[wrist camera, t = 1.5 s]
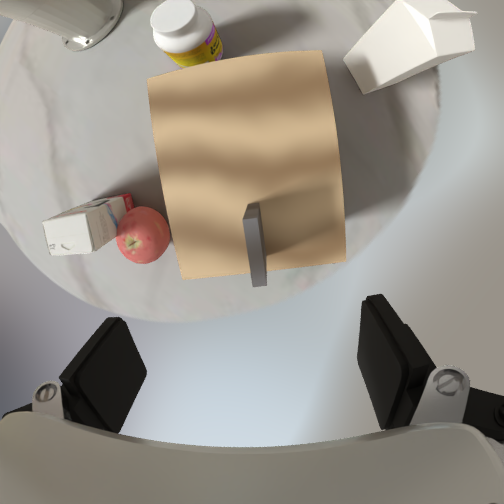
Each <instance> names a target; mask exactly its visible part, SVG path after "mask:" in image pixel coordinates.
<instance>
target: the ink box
mask: <svg viewBox="0 0 504 504" xmlns="http://www.w3.org/2000/svg"><path fill="white" fill-rule="evenodd" d="M133 208H134V205H133V201H132V197H131V194H130V193H128V194H123V195H118V196H113V197H109V198H104V199H99V200H95V201H90V202H87V203H85V204H82V205H80V206H77V207H75V208H73V209H70V210H68V211H65V212H63V213H61V214H58V215H56V216H54V217H52V218H49V219H47V220H45V221H43V222H42V223H43V229H44V234H45V238H46V242H47V246H48V249H49V253H50V255H53V256H57V255H73V254H85V253H87V254H88V253H91V252H95V251H97V250H98V249H99V248H101V247H102V246H104V245H105V244H106V243H108V242H109V241H111V240H112V239H113V238H115V237H116V236H117V226H118V224H119V222H120V220H121V219H122V217H123V216H124V215H125V214H126V213H127V212H128V211H130V210H131V209H133Z"/></svg>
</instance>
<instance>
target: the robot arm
mask: <svg viewBox="0 0 504 504" xmlns="http://www.w3.org/2000/svg"><path fill="white" fill-rule="evenodd" d="M122 9H123V1H122V0H0V15H1V16H4V17H9V18H12V19H15V20H18V21H22V22H25V23H27V24H30V25H33V26H36V27H39V28H41V29H44V30H47V31H49V32H52V33H54V34H57V35H59V36H62V42H63V44H64V46H65V47H66V48H67V49H69V50H72V51H82V50H85V49H87V48H90V47H92V46H93V45H95V44H96V43H98V42H99V41H100V40H102V39H103V38H104V37H105V36H106V35H107V34H108V33H109V32H110V31H111V30H112V28H113V27H114V26H115V24H116V23H117V21H118V19H119V18H120V16H121V13H122ZM357 360H358V365H359V368H360V370H361V373H362V376H363V378H364V381H365V384H366V387H367V390H368V393H369V395H370V398H371V401H372V404H373V407H374V410H375V413H376V416H377V419H378V423H379V426H380V428H381V430H383V429H386V430H385V431H381V432H376V433H371V434H366V435H361V436H356V437H351V438H345V439H339V440H332V441H325V442H318V443H309V444H300V445H291V446H275V447H210V446H209V447H208V446H196V445H185V444H175V443H167V442H159V441H154V440H147V439H141V438H136V437H131V436H126V435H121V434H118V433H119V432H120V430H121V428H122V426H123V424H124V422H125V419H126V417H127V415H128V413H129V411H130V409H131V407H132V405H133V402H134V400H135V398H136V396H137V394H138V392H139V390H140V388H141V386H142V384H143V382H144V380H145V377H146V375H147V370H146V367H145V365H144V363H143V361H142V359H141V356H140V354H139V352H138V350H137V348H136V345H135V343H134V341H133V338H132V336H131V334H130V331H129V329H128V326H127V324H126V322H125V321H123V320H122V318H120V317H108V318H107V319H106V320H105V321H104V322H103V323H102V325H101V326H100V327H99V328H98V329H97V330H96V331H95V333H94V334H93V335H92V336H91V337H90V339H89V340H88V341H87V342H86V344H85V345H84V346H83V347H82V348H81V350H80V351H79V352H78V353H77V355H76V356H75V357H74V358H73V360H72V361H71V362H70V363H69V365H68V366H67V367H66V369H65V370H64V371H63V372H62V374H61V375H60V376H59V379H60V380H61V382H62V383H63V385H62V386H60V385H59V384H58V383H57V382H55V381H48V382H45V383H43V384H41V385H40V386H38V387H37V389H36V390H35V391H34V393H33V400H32V403H30V404H28V405H25V406H23V407H20V408H18V409H15V410H13V411H10V412H7V413H6V414H4V415H3V417H2V420H1V421H0V504H504V396H501V395H497V394H494V393H489V392H486V391H482V390H478V389H475V388H472V387H470V380H469V377H468V375H467V374H466V373H465V372H464V371H463V370H461V369H460V368H458V367H455V366H448V365H446V366H441V367H438V368H437V367H436V366H435V364H434V363H433V361H432V360H431V358H430V357H429V355H428V354H427V352H426V351H425V349H424V348H423V346H422V345H421V343H420V342H419V340H418V339H417V337H416V336H415V334H414V333H413V331H412V330H411V329H410V327H409V326H408V325H407V324H403V322H402V321H401V319H400V318H399V317H398V315H397V314H396V312H395V311H394V309H393V308H392V307H391V305H390V304H389V302H388V301H387V300H386V298H385V297H384V296H383V295H382V294H377V295H371V296H367V298H366V300H364V301H362V307H361V321H360V333H359V345H358V353H357Z"/></svg>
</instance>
